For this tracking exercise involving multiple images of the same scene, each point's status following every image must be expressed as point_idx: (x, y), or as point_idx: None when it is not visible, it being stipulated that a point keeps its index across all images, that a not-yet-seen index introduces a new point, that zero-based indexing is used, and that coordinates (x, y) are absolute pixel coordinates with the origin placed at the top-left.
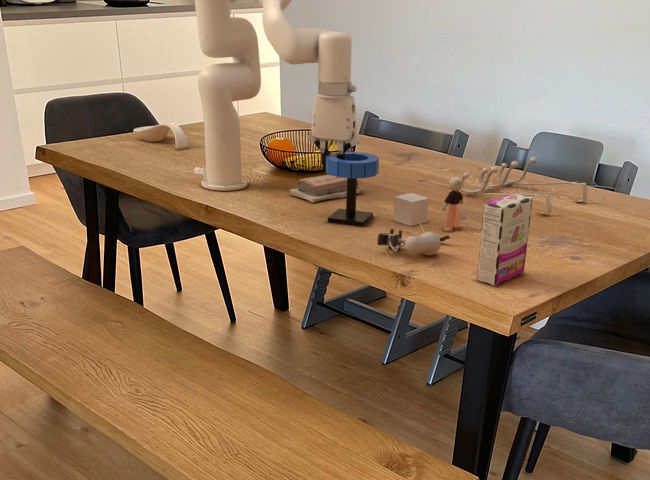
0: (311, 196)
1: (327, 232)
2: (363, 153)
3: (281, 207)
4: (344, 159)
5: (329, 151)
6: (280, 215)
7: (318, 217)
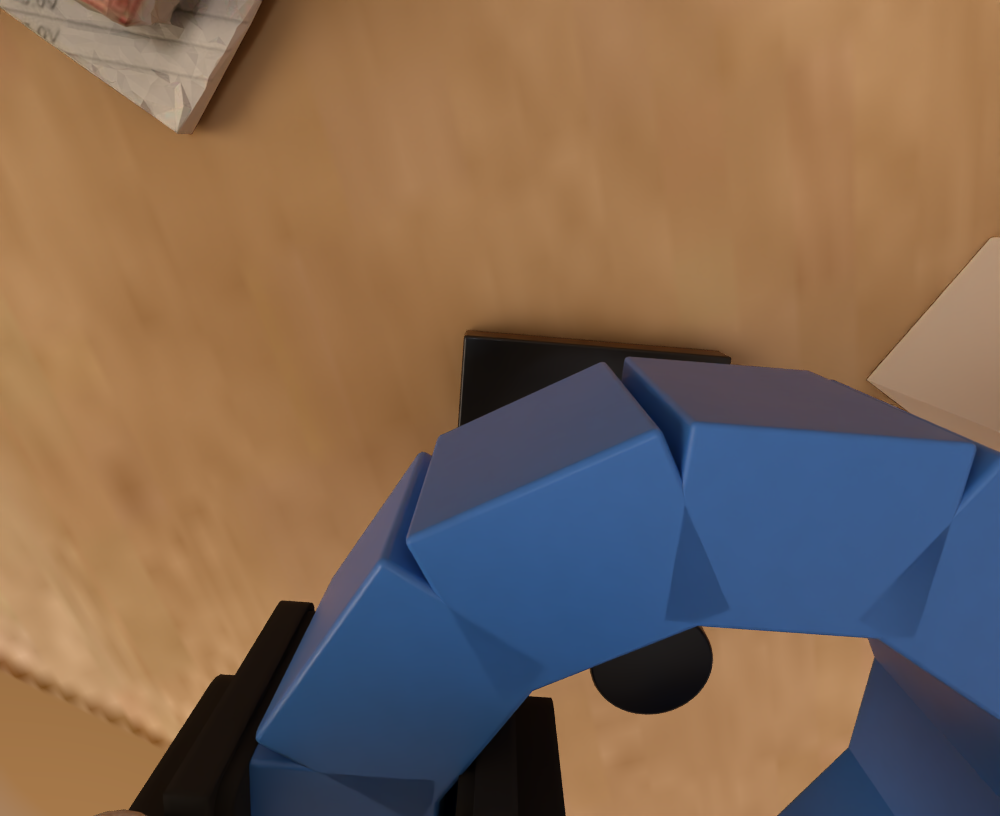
0: (135, 53)
1: None
2: (929, 531)
3: (29, 327)
4: (559, 780)
5: (213, 787)
6: (117, 510)
7: (362, 474)
